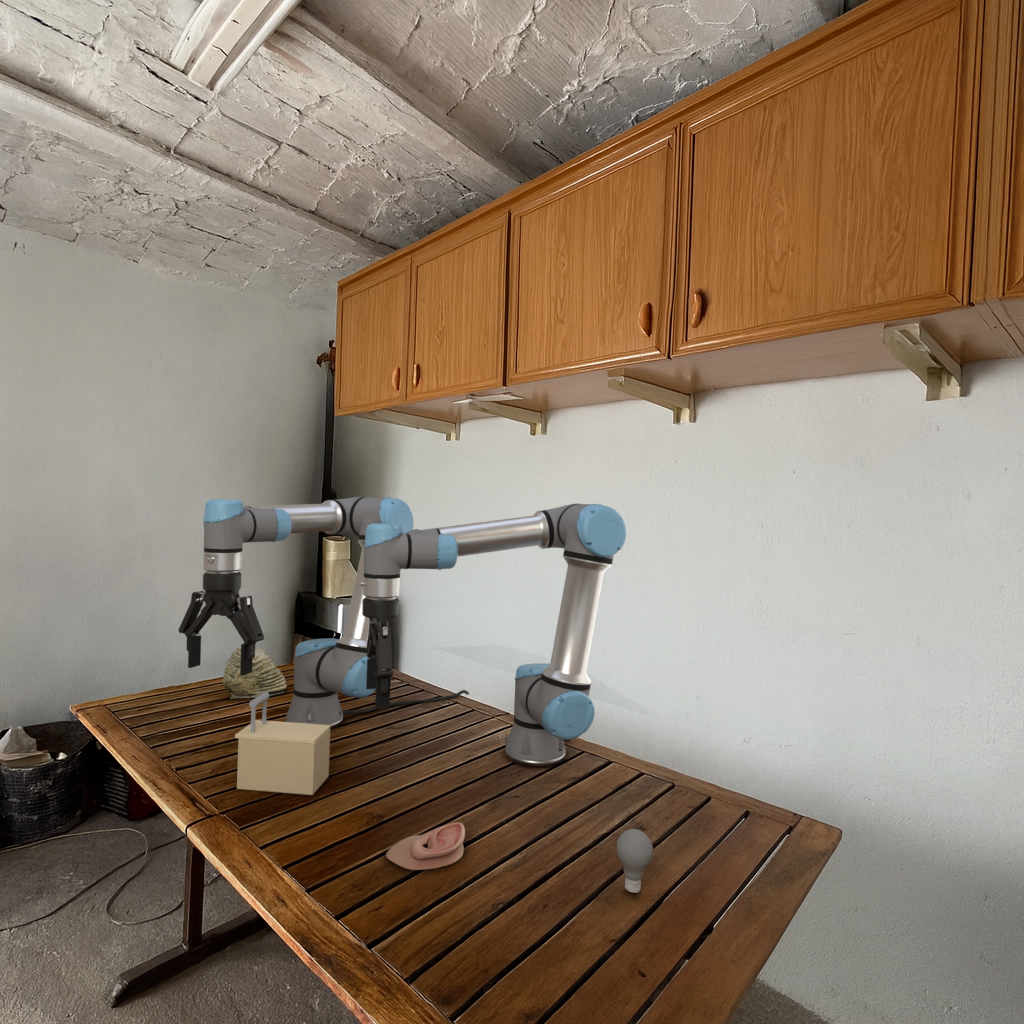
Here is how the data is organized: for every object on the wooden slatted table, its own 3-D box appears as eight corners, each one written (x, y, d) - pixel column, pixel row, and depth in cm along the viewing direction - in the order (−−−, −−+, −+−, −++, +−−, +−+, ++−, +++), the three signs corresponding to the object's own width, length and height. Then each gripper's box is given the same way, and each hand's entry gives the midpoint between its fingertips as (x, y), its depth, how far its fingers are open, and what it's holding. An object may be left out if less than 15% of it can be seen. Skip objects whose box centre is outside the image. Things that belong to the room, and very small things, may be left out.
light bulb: (610, 879, 108) (613, 822, 108) (644, 879, 109) (647, 822, 109) (619, 902, 102) (622, 840, 102) (655, 901, 103) (658, 840, 103)
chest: (236, 788, 136) (238, 738, 135) (257, 770, 145) (259, 723, 145) (312, 795, 134) (314, 744, 134) (328, 776, 144) (330, 728, 143)
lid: (234, 738, 136) (236, 702, 135) (255, 723, 145) (256, 689, 145) (314, 744, 134) (315, 707, 134) (330, 728, 143) (331, 694, 143)
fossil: (218, 695, 195) (220, 647, 195) (278, 685, 208) (279, 640, 207) (228, 703, 189) (230, 653, 188) (289, 692, 201) (290, 645, 201)
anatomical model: (379, 842, 110) (403, 810, 121) (378, 864, 110) (403, 831, 121) (452, 854, 107) (471, 821, 118) (452, 877, 107) (470, 842, 118)
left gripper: (161, 569, 135) (159, 667, 136) (259, 577, 128) (256, 681, 129) (189, 565, 143) (186, 659, 143) (283, 573, 135) (280, 672, 136)
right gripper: (355, 588, 143) (352, 682, 143) (371, 608, 120) (367, 719, 120) (389, 588, 146) (385, 680, 146) (410, 607, 122) (406, 716, 123)
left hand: (219, 670), depth 136 cm, fingers open, 13 cm apart
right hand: (377, 698), depth 133 cm, fingers open, 13 cm apart
